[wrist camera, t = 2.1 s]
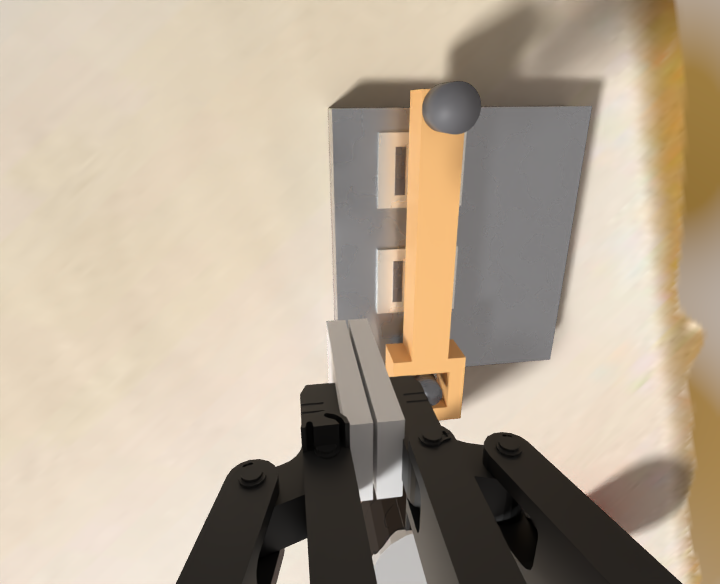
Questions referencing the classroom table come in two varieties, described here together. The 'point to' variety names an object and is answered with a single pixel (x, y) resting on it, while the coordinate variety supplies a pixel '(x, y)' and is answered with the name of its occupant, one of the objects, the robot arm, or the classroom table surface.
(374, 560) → the printed cylinder
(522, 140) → the board
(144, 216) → the classroom table surface
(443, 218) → the bar
